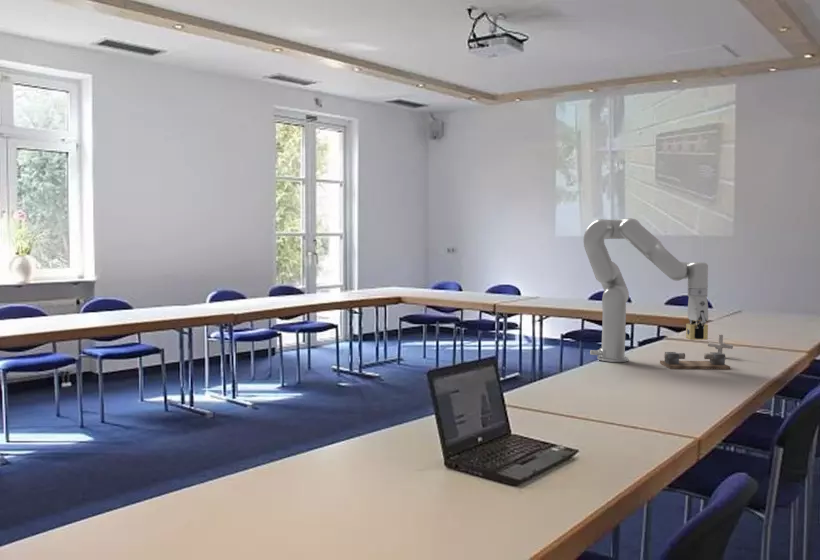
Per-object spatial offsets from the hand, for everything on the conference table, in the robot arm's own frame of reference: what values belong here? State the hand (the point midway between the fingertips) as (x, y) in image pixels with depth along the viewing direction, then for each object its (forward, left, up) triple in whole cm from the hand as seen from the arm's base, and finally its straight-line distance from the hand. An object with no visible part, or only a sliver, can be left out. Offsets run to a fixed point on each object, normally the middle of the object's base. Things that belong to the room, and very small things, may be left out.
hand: (696, 337), depth 300 cm
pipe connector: (+20, +23, -12) cm, 33 cm away
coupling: (0, 0, -1) cm, 1 cm away
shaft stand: (0, 0, -12) cm, 12 cm away
